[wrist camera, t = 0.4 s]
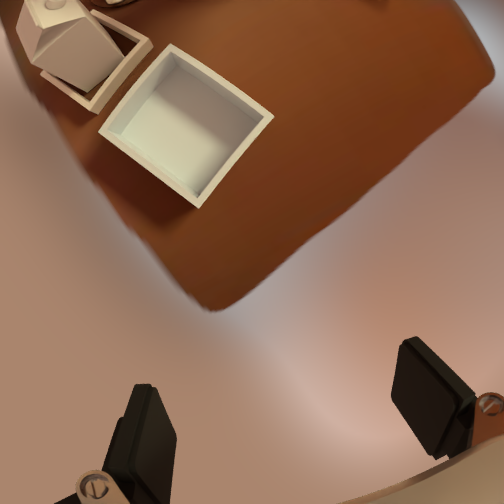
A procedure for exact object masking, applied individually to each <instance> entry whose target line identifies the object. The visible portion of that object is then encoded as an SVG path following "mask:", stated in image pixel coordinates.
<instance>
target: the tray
mask: <svg viewBox="0 0 504 504" xmlns="http://www.w3.org/2000/svg"><path fill="white" fill-rule="evenodd" d="M90 13H91V14H92V15H93V16H94V17H95V19H96V20H97V21H98V22H99V23H101V24H103V25H105V26H107V27H109V28H110V29H112V30H114V31H116V32H118V33H120V34H121V35H123V36H125V37H127V38H129V39H130V40H132V41H134V42H136V43H137V45H136V46H135V47H134V48H133V49H132V50H131V51H130V53H129V54H128V55H127V56H126V57H125V58H124V59H123V61H122V62H121V63H120V64H119V65H118V66H117V68H116V69H115V70H114V71H113V73H112V74H111V75H110V76H109V77H108V79H107V80H106V81H105V83H104V84H103V85H102V86H101V88H100V89H99V90H98V92H97V93H96V94H95V96H94V97H93V98H92V100H91V101H89V100H87V99H86V98H85V97H83V96H82V95H80V94H79V93H78V92H76V91H75V90H73V89H72V88H71V87H69V86H68V85H66V84H65V83H64V82H62V81H61V80H59V79H58V78H56V76H55V75H53V74H51V73H49V72H47V71H45V70H43V71H42V72H41V74H40V75H41V76H42V77H44V78H45V79H47V80H48V81H49V82H51V83H52V84H53V85H55V86H56V87H58V88H59V89H60V90H62V91H63V92H65V93H66V94H67V95H69V96H70V97H71V98H73V99H74V100H75V101H77V102H78V103H80V104H81V105H82V106H84V107H85V108H86V109H88V110H89V111H91V112H94V113H96V114H99V113H100V112H101V110H102V109H103V107H104V106H105V105H106V103H107V102H108V101H109V99H110V98H111V97H112V95H113V94H114V93H115V92H116V90H117V89H118V88H119V86H120V85H121V84H122V83H123V82H124V80H125V79H126V78H127V77H128V75H129V74H130V73H131V72H132V71H133V70H134V68H135V67H136V66H137V65H138V64H139V63H140V61H141V60H142V59H143V58H144V57H145V56H146V55H147V54H148V53H149V51H150V50H151V49H152V48H153V47H154V46H153V45H152V43H151V41H150V39H149V38H147V37H146V36H144V35H142V34H140V33H138V32H137V31H135V30H133V29H131V28H129V27H127V26H126V25H124V24H122V23H120V22H118V21H116V20H114V19H112V18H110V17H108V16H106V15H104V14H102V13H100V12H98V11H96V10H94V9H93V10H92V11H91V12H90Z"/></svg>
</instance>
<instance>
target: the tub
mask: <svg viewBox="0 0 504 504" xmlns="http://www.w3.org/2000/svg"><path fill="white" fill-rule="evenodd" d="M273 117H274V116H273V115H272V114H271V113H270V112H268V111H267V110H266V109H265V108H263V107H262V106H261V105H259V104H258V103H257V102H255V101H254V100H253V99H252V98H250V97H249V96H248V95H246V94H245V93H243V92H242V91H241V90H239V89H238V88H237V87H235V86H234V85H232V84H231V83H230V82H228V81H227V80H225V79H224V78H223V77H221V76H220V75H218V74H217V73H215V72H214V71H212V70H211V69H209V68H208V67H206V66H205V65H203V64H202V63H200V62H199V61H197V60H196V59H194V58H193V57H191V56H190V55H188V54H186V53H185V52H183V51H182V50H180V49H178V48H177V47H175V46H174V45H172V44H169V45H168V46H167V47H166V49H165V50H164V51H163V52H162V53H161V54H160V55H159V56H158V57H157V58H156V59H155V60H154V61H153V63H152V64H151V65H150V66H149V67H148V68H147V69H146V71H145V72H144V73H143V74H142V75H141V76H140V78H139V79H138V80H137V81H136V82H135V84H134V85H133V86H132V87H131V88H130V90H129V91H128V92H127V93H126V95H125V96H124V97H123V99H122V100H121V101H120V102H119V104H118V105H117V106H116V108H115V109H114V110H113V112H112V113H111V114H110V116H109V117H108V119H107V120H106V121H105V123H104V124H103V126H102V127H101V129H100V130H99V131H98V133H100V134H101V135H102V136H104V137H105V138H106V139H108V140H109V141H110V142H112V143H113V144H114V145H116V146H117V147H118V148H120V149H121V150H122V151H123V152H125V153H126V154H127V155H129V156H130V157H131V158H133V159H134V160H135V161H137V162H138V163H139V164H141V165H142V166H143V167H145V168H146V169H147V170H148V171H150V172H151V173H152V174H154V175H155V176H156V177H158V178H159V179H160V180H162V181H163V182H164V183H166V184H167V185H168V186H170V187H171V188H172V189H173V190H175V191H176V192H177V193H179V194H180V195H181V196H183V197H184V198H185V199H187V200H188V201H189V202H191V203H192V204H193V205H194V206H196V207H197V208H198V209H199V208H200V206H201V205H202V204H203V203H204V201H205V200H206V199H207V197H208V196H209V195H210V194H211V192H212V191H213V190H214V188H215V187H216V186H217V185H218V183H219V182H220V181H221V180H222V178H223V177H224V176H225V175H226V173H227V172H228V171H229V170H230V168H231V167H232V166H233V165H234V163H235V162H236V161H237V160H238V159H239V157H240V156H241V155H242V154H243V153H244V151H245V150H246V149H247V148H248V147H249V145H250V144H251V143H252V142H253V141H254V139H255V138H256V137H257V136H258V135H259V134H260V132H261V131H262V130H263V129H264V128H265V127H266V125H267V124H268V123H269V122H270V121H271V120H272V118H273Z"/></svg>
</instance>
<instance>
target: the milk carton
mask: <svg viewBox="0 0 504 504" xmlns="http://www.w3.org/2000/svg"><path fill="white" fill-rule="evenodd" d="M16 30H17V33H18V35H19V38H20V40H21V42H22V45H23V47H24V49H25V52H26V54H27V56H28V58H29V60H30V63H31V64H33V65H35V66H37V67H39V68H41V69H43V70H45V71H47V72H49V73H51V74H53V75H55V76H57V77H59V78H61V79H63V80H65V81H67V82H68V83H70V84H72V85H74V86H76V87H78V88H80V89H82V90H83V91H85V92H87V93H88V92H89V91H90V90H91V89H93V88H94V87H95V86H96V85H97V84H99V83H100V82H101V81H102V80H104V79H105V78H106V77H108V76H109V75H110V74H111V73H113V71H114V70H115V69H116V68H117V66H118V65H119V64H120V63H121V62H122V61H123V59H124V58H125V57H124V55H123V54H122V52H121V51H120V49H119V48H118V46H117V45H116V43H115V42H114V41H113V39H112V38H111V36H110V35H109V33H108V32H107V31H106V30H105V29H104V28H103V27H102V25H101V24H100V23H99V22H98V21H97V20H96V19H95V17H94V16H93V15H92V14H91V13H90V12H89V11H88V10H87V8H86V7H85V6H84V5H83V4H82V3H81V2H80V1H79V0H24V4H23V7H22V10H21V13H20V16H19V19H18V23H17V26H16Z"/></svg>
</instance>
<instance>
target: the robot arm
mask: <svg viewBox="0 0 504 504" xmlns="http://www.w3.org/2000/svg"><path fill="white" fill-rule="evenodd" d="M391 398H392V401H393V403H394V404H395V406H396V407H397V408H398V410H399V411H400V413H401V414H402V416H403V417H404V419H405V420H406V422H407V423H408V425H409V426H410V428H411V429H412V431H413V433H414V434H415V436H416V437H417V438H418V440H419V441H420V443H421V445H422V446H423V448H424V449H425V451H426V452H427V454H428V455H430V456H431V455H432V456H433V457H434V458H435V460H437V459H439V458H441V457H443V456H445V455H446V454H447V456H448V457H449V460H447V461H445V462H443V463H441V464H439V465H437V466H435V467H433V468H431V469H429V470H427V471H425V472H423V473H421V474H418V475H416V476H414V477H412V478H409V479H407V480H405V481H403V482H400V483H397V484H395V485H392V486H390V487H387V488H385V489H382V490H379V491H377V492H373V493H370V494H368V495H365V496H362V497H358V498H355V499H352V500H349V501H345V502H342V503H338V504H504V397H503V396H502V395H500V394H498V393H493V392H488V393H484V394H482V395H481V396H479V397H478V398H477V397H476V396H475V392H473V390H472V389H471V388H469V386H468V385H467V384H466V383H465V382H464V381H463V380H462V379H461V378H460V377H459V376H458V375H457V374H456V373H455V372H454V371H453V370H452V369H451V368H450V367H449V366H448V365H447V364H446V363H445V362H444V361H443V360H442V359H440V358H439V356H437V355H436V354H435V353H434V352H433V351H432V350H431V349H430V348H429V347H428V346H427V345H426V344H425V343H424V342H423V341H422V340H421V339H420V338H419V337H417V336H415V337H412V338H409V339H406V340H404V341H403V342H402V344H401V345H400V346H399V351H398V358H397V364H396V370H395V376H394V381H393V386H392V391H391ZM176 442H177V437H176V433H175V430H174V428H173V426H172V424H171V421H170V419H169V417H168V415H167V413H166V410H165V407H164V405H163V403H162V401H161V398H160V396H159V393H158V390H157V389H156V388H155V387H152V386H151V384H136V385H135V386H134V388H133V391H132V394H131V397H130V399H129V402H128V405H127V408H126V411H125V414H124V417H121V418H119V420H118V422H117V425H116V427H115V430H114V433H113V436H112V439H111V443H110V445H109V448H108V452H107V455H106V458H105V461H104V465H103V467H102V471H99V470H92V471H88V472H86V473H84V474H83V475H81V477H80V478H79V479H78V481H77V483H76V493H75V494H72V495H71V496H68V497H67V498H65V499H62V500H61V501H58V502H56V503H54V504H170V495H171V486H172V476H173V467H174V458H175V450H176Z"/></svg>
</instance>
